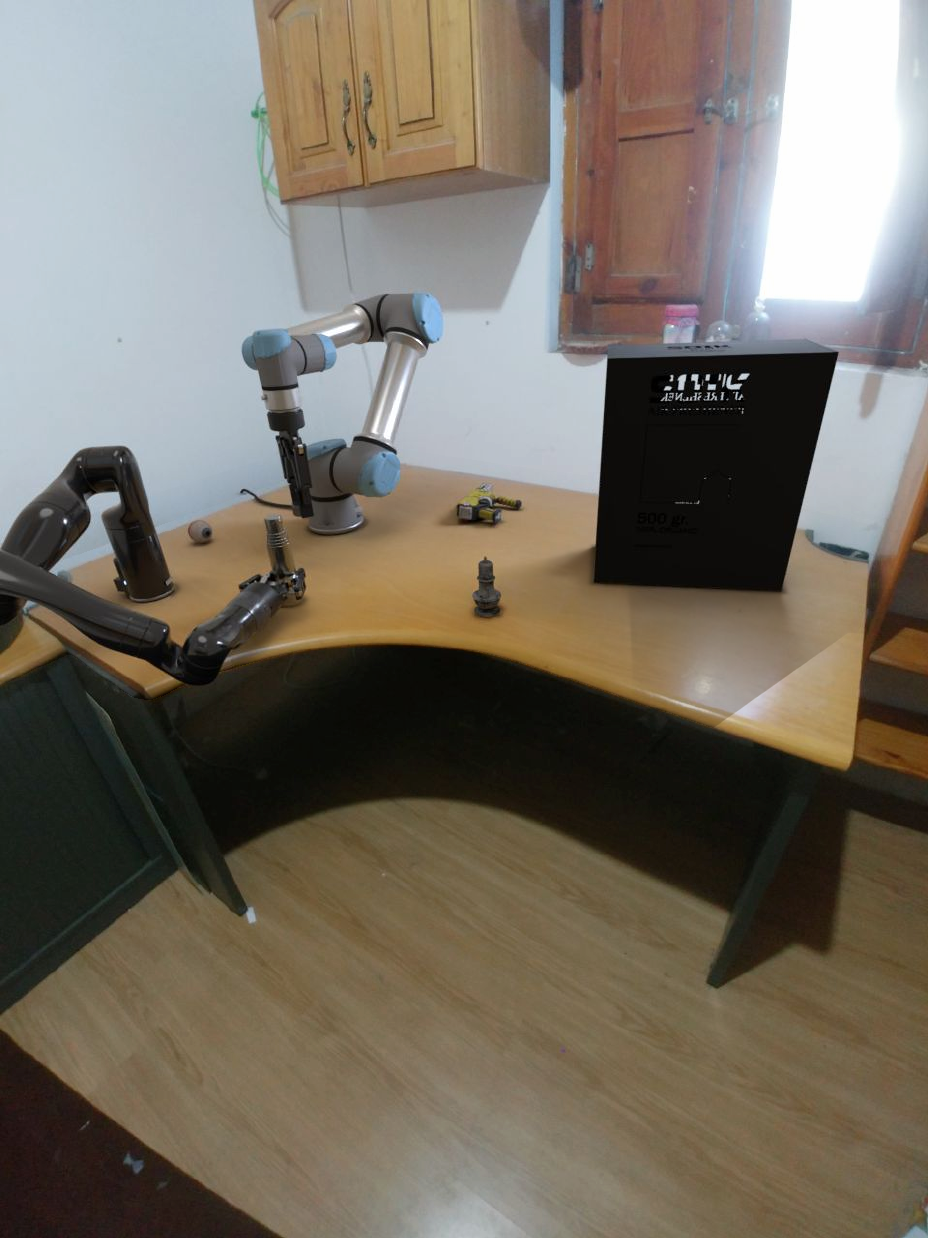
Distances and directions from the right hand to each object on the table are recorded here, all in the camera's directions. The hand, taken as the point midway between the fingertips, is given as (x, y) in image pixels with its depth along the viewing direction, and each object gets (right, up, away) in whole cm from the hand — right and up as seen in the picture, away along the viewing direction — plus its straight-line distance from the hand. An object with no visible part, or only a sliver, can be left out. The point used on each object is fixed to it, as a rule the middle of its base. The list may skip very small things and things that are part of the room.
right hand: (303, 513), depth 140 cm
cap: (0, +2, -1) cm, 2 cm away
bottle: (0, -21, -9) cm, 23 cm away
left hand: (0, -14, -10) cm, 17 cm away
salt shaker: (+42, -23, -17) cm, 51 cm away
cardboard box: (+86, -13, -4) cm, 87 cm away
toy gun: (+46, +7, +33) cm, 57 cm away
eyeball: (-33, -4, +24) cm, 41 cm away
